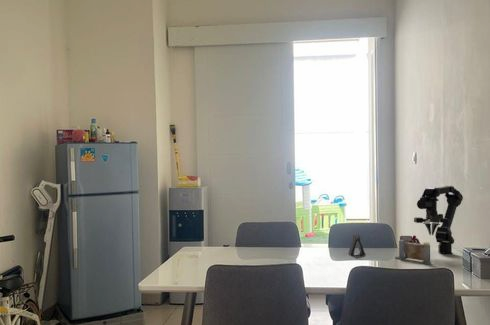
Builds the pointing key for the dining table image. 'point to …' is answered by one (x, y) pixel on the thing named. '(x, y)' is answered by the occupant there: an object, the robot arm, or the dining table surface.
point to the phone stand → (355, 245)
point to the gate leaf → (415, 251)
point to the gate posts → (402, 252)
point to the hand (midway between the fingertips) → (431, 235)
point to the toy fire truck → (409, 239)
